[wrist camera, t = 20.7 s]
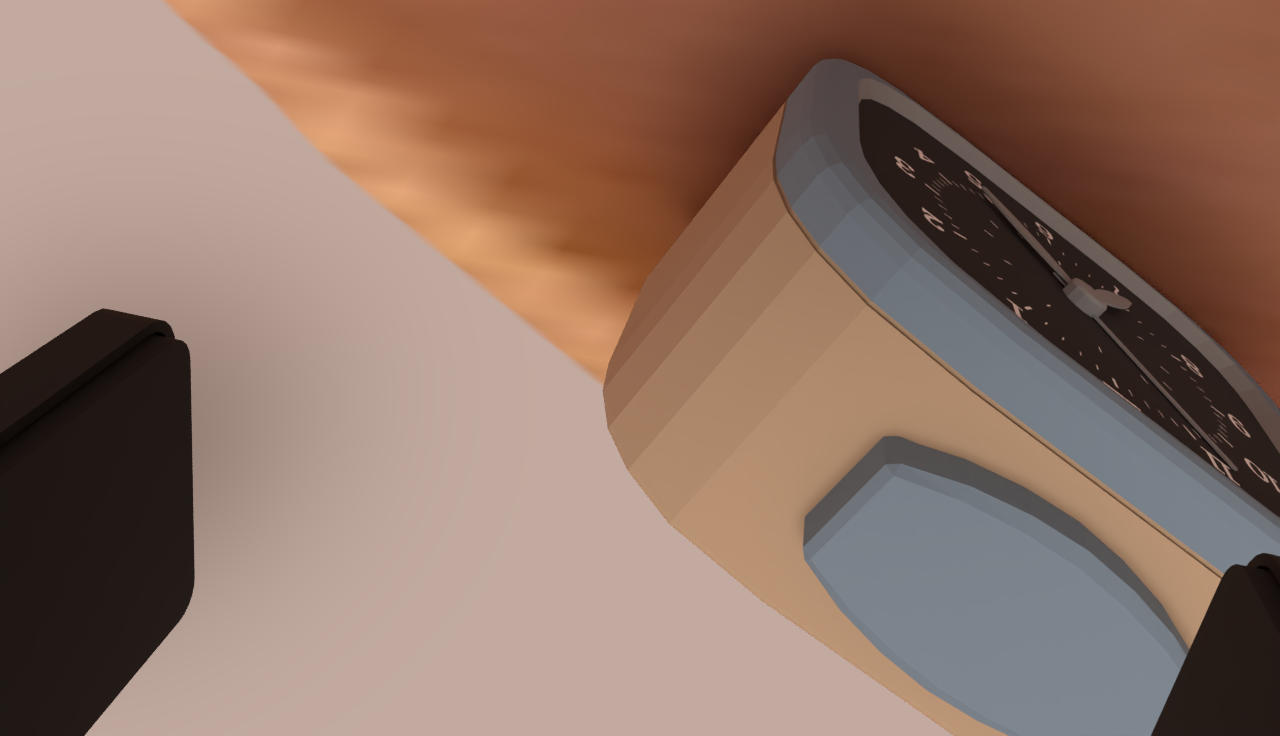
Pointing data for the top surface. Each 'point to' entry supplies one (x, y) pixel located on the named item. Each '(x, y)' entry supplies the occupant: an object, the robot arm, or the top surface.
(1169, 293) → the top surface
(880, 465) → the alarm clock
